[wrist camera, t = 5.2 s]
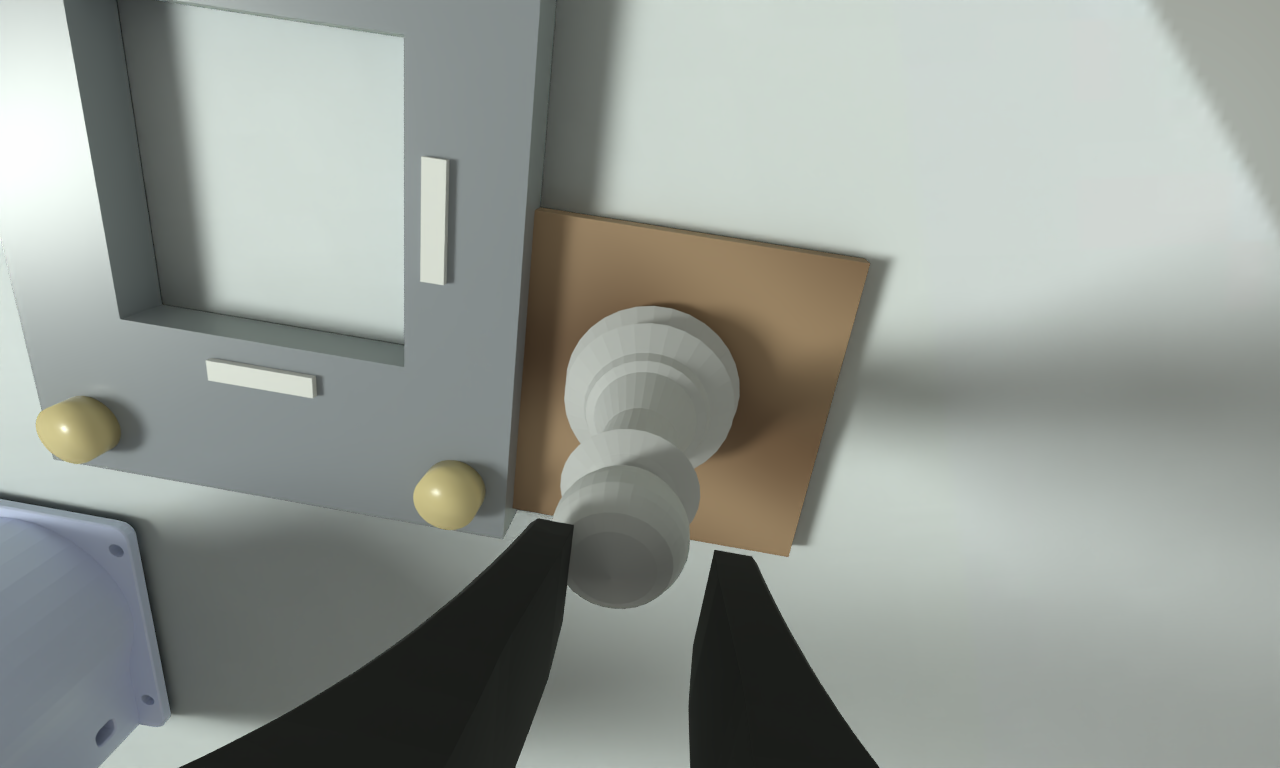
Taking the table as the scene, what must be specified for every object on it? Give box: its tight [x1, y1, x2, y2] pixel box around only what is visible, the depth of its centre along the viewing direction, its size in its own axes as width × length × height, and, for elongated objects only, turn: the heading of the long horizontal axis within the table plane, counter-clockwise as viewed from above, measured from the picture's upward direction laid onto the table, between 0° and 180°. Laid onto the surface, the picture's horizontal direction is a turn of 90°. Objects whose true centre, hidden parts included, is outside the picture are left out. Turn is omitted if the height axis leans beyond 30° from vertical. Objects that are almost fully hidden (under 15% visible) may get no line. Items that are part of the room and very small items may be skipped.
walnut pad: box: [512, 207, 870, 557], centre depth 18 cm, size 9×9×1 cm
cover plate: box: [0, 0, 556, 539], centre depth 17 cm, size 18×14×2 cm
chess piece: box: [552, 306, 740, 609], centre depth 14 cm, size 5×5×8 cm
